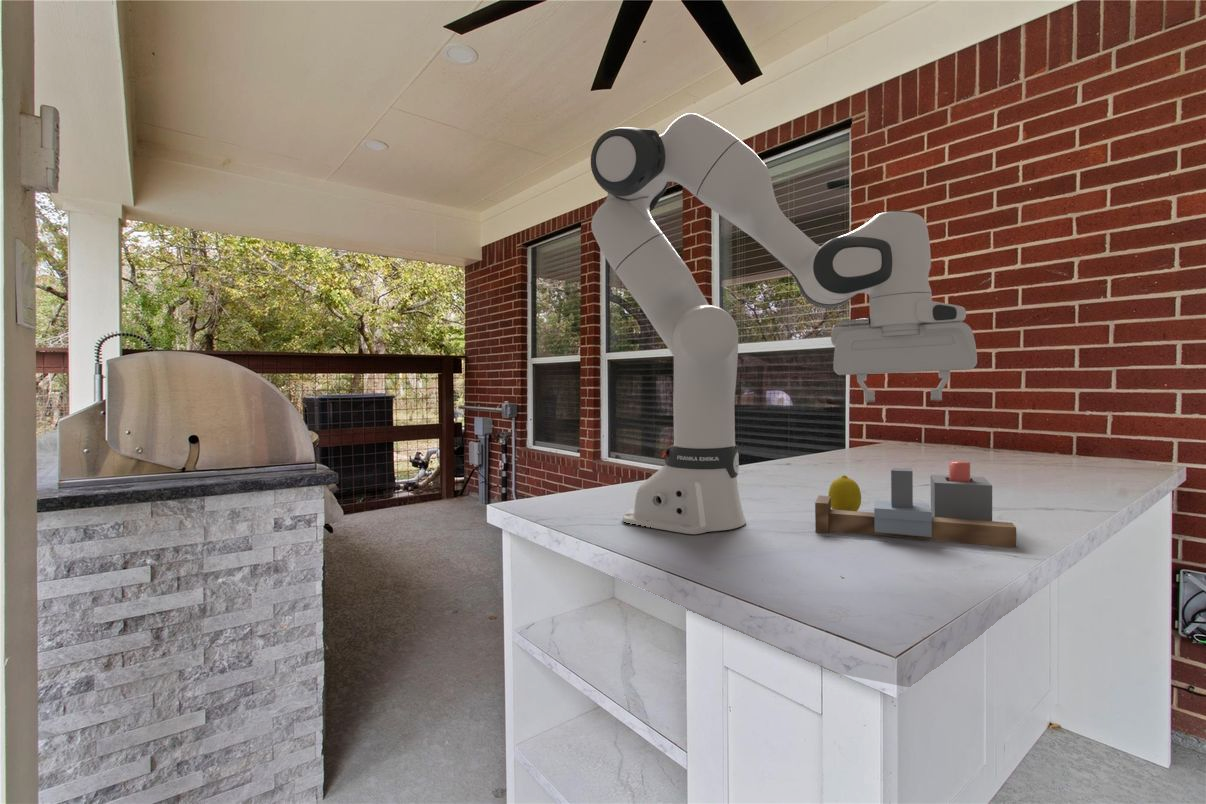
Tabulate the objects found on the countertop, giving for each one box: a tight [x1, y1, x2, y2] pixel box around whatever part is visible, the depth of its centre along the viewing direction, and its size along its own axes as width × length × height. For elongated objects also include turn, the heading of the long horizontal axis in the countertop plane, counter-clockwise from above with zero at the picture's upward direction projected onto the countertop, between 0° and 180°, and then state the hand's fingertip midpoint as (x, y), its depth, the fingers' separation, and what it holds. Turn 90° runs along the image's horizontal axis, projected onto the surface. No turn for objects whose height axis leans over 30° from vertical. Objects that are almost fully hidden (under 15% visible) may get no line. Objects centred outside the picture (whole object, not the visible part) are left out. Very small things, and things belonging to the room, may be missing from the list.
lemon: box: [828, 475, 862, 511], centre depth 102 cm, size 6×6×8 cm
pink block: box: [948, 460, 971, 482], centre depth 95 cm, size 3×3×6 cm
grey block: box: [930, 474, 993, 521], centre depth 95 cm, size 8×8×8 cm
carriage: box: [873, 467, 932, 537], centre depth 91 cm, size 8×6×10 cm
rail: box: [814, 495, 1017, 548], centre depth 90 cm, size 28×6×5 cm, turn 63°
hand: (902, 401), depth 90 cm, fingers open, 8 cm apart
